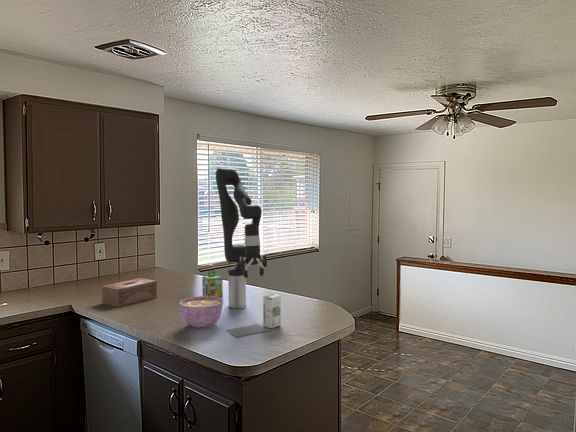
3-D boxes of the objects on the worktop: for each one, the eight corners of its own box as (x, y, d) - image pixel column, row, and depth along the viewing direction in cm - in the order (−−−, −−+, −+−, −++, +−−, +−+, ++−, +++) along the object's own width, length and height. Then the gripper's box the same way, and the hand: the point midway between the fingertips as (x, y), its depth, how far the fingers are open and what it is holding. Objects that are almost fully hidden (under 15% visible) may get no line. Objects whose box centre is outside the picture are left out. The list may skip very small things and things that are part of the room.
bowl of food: (183, 320, 220) (183, 296, 219) (225, 318, 221) (225, 295, 220) (176, 333, 200) (175, 307, 199) (222, 332, 201) (221, 306, 200)
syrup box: (271, 323, 213) (271, 292, 212) (281, 325, 209) (280, 294, 208) (263, 326, 209) (262, 295, 207) (272, 329, 205) (272, 297, 204)
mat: (226, 330, 203) (226, 329, 203) (257, 324, 211) (257, 323, 211) (236, 337, 194) (236, 336, 194) (269, 331, 202) (269, 330, 202)
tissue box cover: (118, 307, 244) (117, 289, 243) (102, 303, 252) (101, 286, 251) (156, 297, 265) (156, 280, 264) (141, 294, 273) (140, 278, 272)
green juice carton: (209, 299, 259) (208, 273, 258) (201, 296, 267) (201, 271, 266) (223, 296, 265) (222, 271, 264) (216, 293, 272) (215, 269, 271)
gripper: (261, 243, 235) (262, 274, 235) (236, 245, 227) (237, 277, 228) (268, 243, 228) (269, 276, 228) (242, 246, 221) (244, 279, 221)
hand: (253, 276), depth 228 cm, fingers open, 8 cm apart
